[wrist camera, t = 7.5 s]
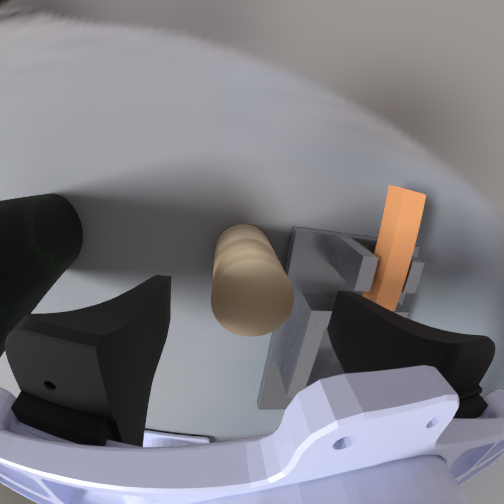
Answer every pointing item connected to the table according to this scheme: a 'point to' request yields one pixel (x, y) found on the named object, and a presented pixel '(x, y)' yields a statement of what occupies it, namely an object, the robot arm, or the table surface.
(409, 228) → the pin
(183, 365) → the table surface
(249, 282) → the peg
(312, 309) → the dock
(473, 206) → the table surface
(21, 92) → the table surface
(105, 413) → the robot arm
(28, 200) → the cup
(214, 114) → the table surface
